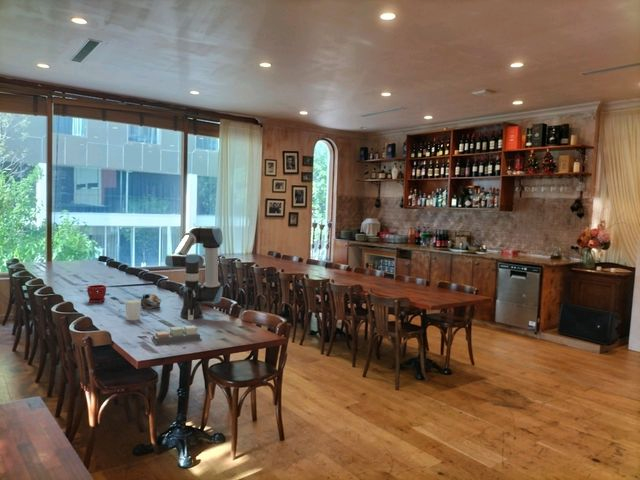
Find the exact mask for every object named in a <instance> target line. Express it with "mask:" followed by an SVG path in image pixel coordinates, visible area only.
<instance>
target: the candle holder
mask: <svg viewBox="0 0 640 480" xmlns="http://www.w3.org/2000/svg"><path fill="white" fill-rule="evenodd" d="M141 309H142V307H141V299H140V300H139V299H130V300H126V301H125V317H126V320H127V321H138V320H141V311H142V310H141Z"/></svg>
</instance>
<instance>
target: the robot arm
mask: <svg viewBox="0 0 640 480" xmlns="http://www.w3.org/2000/svg"><path fill="white" fill-rule="evenodd" d="M223 240H224V238H223V231H222V229H221V228H220V227H217V226H201V225H200V226H199V225H198V226H193V227H190V228H189V229H188V230H186V231H185V232H184V233H183V234H182V236H181V240H180V242H179V244H178V245H177V246H176V249H175V250H174V251H173V253H172V254H171V253H170V254H167V255H166V256H165V261H164V263H165V266H166V267H168V268H182V269H183V268H184V269H185V274H184V278H185V279H184V286H183V302H182V304H183V305H182V307H181V311H180V316H179V317H180V318H182V319H187V320H188V321H194V320H195V319H200V318H202V317H203V309H202V307H201V303H212V304H216V303H217V304H218V303H220V302H221V300H222V295H223V290H224V286H221V283H220V282H219V248H220V247H221V246H222V245H223V243H224V242H223ZM196 244H199V245H200V244H202V248H204V257H203V256H202V255H200V254H198V253H189V252H190V250H191V248H192V246H194V245H196ZM202 266H204V269H205V270H204V273H205V274H204V275H205V278H204V279H205V281H204V282H203V285H202V283H201V282H199V279H200V278H199V277H200V273H199V270H200V268H201V267H202Z"/></svg>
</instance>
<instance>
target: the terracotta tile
mask: <svg viewBox="0 0 640 480" xmlns="http://www.w3.org/2000/svg"><path fill="white" fill-rule="evenodd" d="M169 333H170V332H168V331H167V330H166V331H156V333H155V334H156V336H157V338H162V337H169Z"/></svg>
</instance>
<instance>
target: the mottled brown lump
mask: <svg viewBox="0 0 640 480" xmlns="http://www.w3.org/2000/svg"><path fill="white" fill-rule="evenodd" d="M140 301H141V309H144V310H150V309H154V308H160V306H161V302H162V299H161V298H159V297H158V295H156V294H154V293H143V294H142V298H141V299H140Z"/></svg>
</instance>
